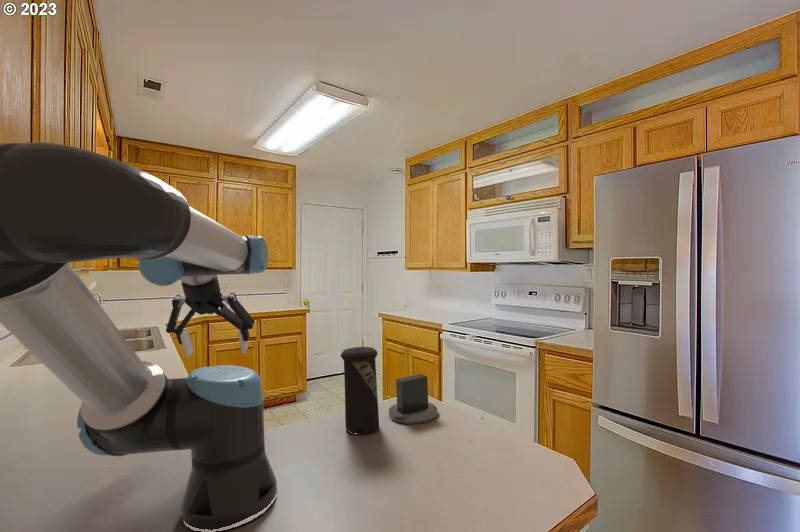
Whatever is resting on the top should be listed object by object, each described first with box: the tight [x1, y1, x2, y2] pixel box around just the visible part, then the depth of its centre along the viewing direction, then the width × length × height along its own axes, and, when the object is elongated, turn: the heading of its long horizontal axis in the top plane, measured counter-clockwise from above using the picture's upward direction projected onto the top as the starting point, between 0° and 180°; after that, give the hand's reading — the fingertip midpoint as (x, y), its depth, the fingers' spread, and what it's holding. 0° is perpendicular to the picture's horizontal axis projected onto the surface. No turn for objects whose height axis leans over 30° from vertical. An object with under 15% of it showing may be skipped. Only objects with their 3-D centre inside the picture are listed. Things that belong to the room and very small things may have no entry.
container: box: [340, 346, 380, 435], centre depth 97 cm, size 9×9×20 cm
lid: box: [388, 373, 438, 426], centre depth 104 cm, size 13×13×10 cm
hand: (217, 351), depth 99 cm, fingers open, 13 cm apart
